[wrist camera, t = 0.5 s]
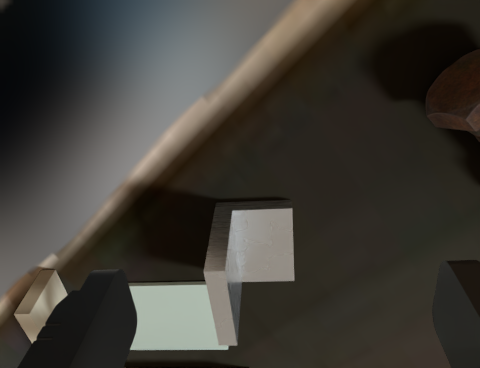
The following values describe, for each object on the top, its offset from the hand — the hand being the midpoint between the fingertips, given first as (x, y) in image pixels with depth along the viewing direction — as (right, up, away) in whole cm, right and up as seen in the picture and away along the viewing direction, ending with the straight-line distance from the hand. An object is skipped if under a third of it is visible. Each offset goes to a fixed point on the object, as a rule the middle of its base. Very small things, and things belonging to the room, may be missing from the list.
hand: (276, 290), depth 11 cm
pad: (-9, -11, +31) cm, 34 cm away
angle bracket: (0, -2, +24) cm, 24 cm away
